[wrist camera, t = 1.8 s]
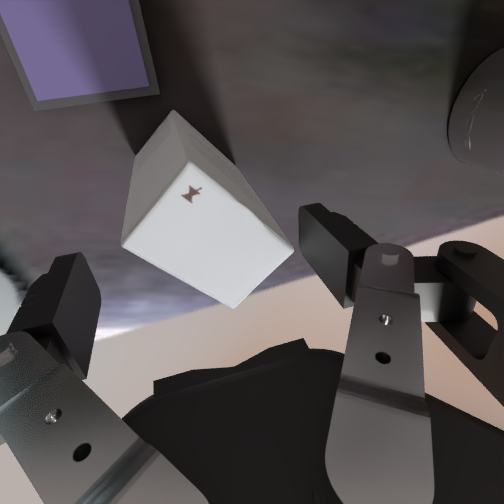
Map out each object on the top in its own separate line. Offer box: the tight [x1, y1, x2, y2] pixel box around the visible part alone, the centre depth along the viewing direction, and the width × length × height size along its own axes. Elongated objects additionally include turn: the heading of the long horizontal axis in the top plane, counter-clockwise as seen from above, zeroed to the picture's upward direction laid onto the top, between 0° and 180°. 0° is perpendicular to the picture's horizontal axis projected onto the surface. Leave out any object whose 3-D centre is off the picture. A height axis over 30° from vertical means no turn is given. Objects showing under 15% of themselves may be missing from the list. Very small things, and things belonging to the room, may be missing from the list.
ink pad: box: [0, 0, 160, 111], centre depth 17 cm, size 7×7×1 cm
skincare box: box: [121, 110, 294, 309], centre depth 17 cm, size 6×4×12 cm
